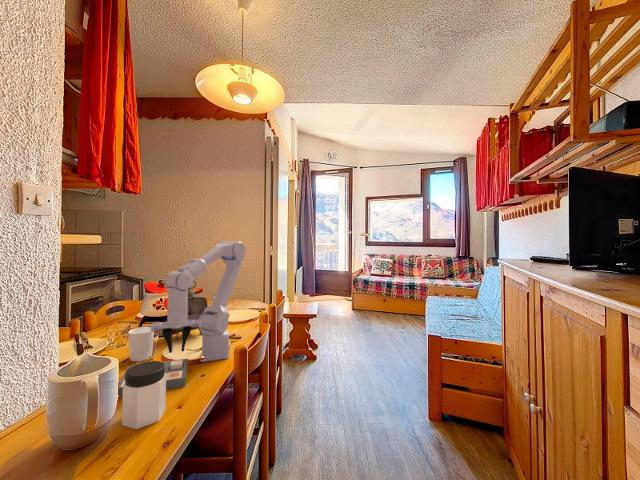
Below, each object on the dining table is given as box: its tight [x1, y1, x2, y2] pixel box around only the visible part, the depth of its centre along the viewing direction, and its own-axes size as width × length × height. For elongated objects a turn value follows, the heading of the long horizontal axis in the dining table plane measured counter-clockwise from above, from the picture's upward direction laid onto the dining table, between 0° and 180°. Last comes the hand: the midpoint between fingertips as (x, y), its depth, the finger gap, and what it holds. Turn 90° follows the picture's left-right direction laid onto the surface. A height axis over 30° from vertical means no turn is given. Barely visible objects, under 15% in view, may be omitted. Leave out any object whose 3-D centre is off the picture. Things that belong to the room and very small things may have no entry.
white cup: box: [127, 326, 155, 362], centre depth 99 cm, size 8×8×10 cm
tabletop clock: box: [173, 280, 208, 341], centre depth 122 cm, size 14×9×25 cm, turn 134°
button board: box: [118, 358, 189, 398], centre depth 83 cm, size 17×14×3 cm
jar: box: [121, 360, 167, 430], centre depth 66 cm, size 9×8×12 cm
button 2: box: [170, 359, 183, 370], centre depth 87 cm, size 3×3×2 cm
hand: (176, 351), depth 87 cm, fingers open, 3 cm apart
